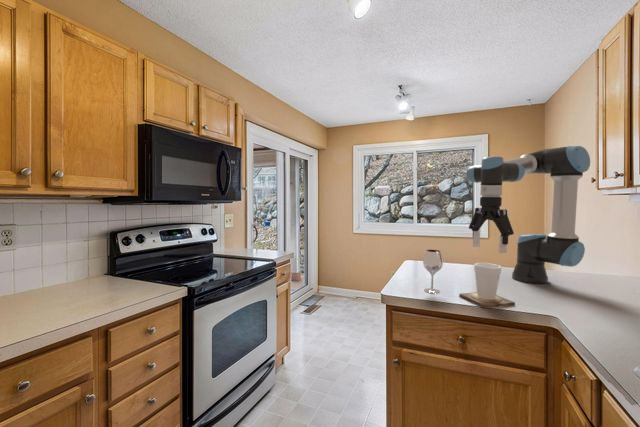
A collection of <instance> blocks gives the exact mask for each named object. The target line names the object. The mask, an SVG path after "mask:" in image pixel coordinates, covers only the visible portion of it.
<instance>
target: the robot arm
mask: <svg viewBox="0 0 640 427" xmlns="http://www.w3.org/2000/svg"><path fill="white" fill-rule="evenodd" d="M590 166H591V156H590V153H589V152H588V151H587V149H586V148H585V147H584V146H581V145H569V146H562V147H555V148H554V147H553V148H545V149H542V150H541V149H540V150H538V151H537V150H536V151H534V152H533V151H532V152H529V153H525V154H522V155H521V156H520V157H516V158H512V159H506V160H504V157H502V156H499V155H497V156H494V155H493V156H485V157H483V158H482V159H481V165H480V164H479V165H477V164H476V165H472V166H469V167H468V169H467V170H466V172H465V174H466V179H467V181H468V182H470V183H475V184H477V183H480V198H479V206H481V207H475V208H474V214H473V216H472V218H471V221H470V224H469V226H468V229H470V230H471V231H472V247H473V248H477V247H480V246H481V230H480V229H481V228H482V226H483V225H484V223H485V222H486V221H487V220H489V221H492V222H493V223H494V224H495V226H496V227H497V229H498V231H499V234H500V235H499V240H498V241H499V242H498V243H499V244H498V245H499V247H498V248H499V249H498V253H500V254H507V250H508V248H507V245H508V244H509V236H513V235H514V233H515V232H514V230H513V227H512V225H511V222H510V218H509V216H508V210H507V209H504V208H503V209H500V208H501V206H502V205H503V204H502V202H503V201H502V200H503V198H502V197H501V196H503V183H504V182H506V183H508V182H510V183H515V182H519V181H521V180H522V179H523V178H524V176H525V175H530V174H550V175H549V176H550V178H551V179H552V180H553V195H552V196H553V197H552V210H551V211H552V214H551V216H552V217H551V230H550V232H549V233H548V234H547V235H546V234H545V233H544V234H543V233H542V234H540V233H539V234H534V233H533V234H521V235H519V236H518V239H517V242H516V243H517V251H516V255H517V256H516V265H515V267H514V269H513V271H512V273H511V277H512V279H514V280H515V281H519V282H522V283H529V284H543V285H544V284H547V283H548V282H549V277H548V274H547V270H546V266H545V264H546V263H548V264H549V263H550V264H553V265H559V266H562V267H576V266H577V265H579V264H580V263H581V261H582V260H583V258H584V257H585V256H584V255H585V252H586V248H585V245H584V243H583V242H581V241H580V239H579V238H580V237H579V236H578V235H577V234H576V222H577V221H576V219H577V205H578V204H577V201H578V186H579V180H580V179H582V178H583V174H584V173H585V172H587V171H589V169H590Z"/></svg>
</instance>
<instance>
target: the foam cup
mask: <svg viewBox="0 0 640 427" xmlns="http://www.w3.org/2000/svg"><path fill="white" fill-rule="evenodd" d="M473 268H474V269H473V270H474V275H475V276H474V277H475V284H476V285H475V286H476V287H475V288H476V292H477V296H478V297H479V298H482V299H487V300H494V299H495V297H496V295H497V290H498V285H499V281H500V275H501V273H502V265H499V264H495V263H491V262H490V263H489V262H476V263H475V262H474V267H473Z"/></svg>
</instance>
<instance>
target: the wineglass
mask: <svg viewBox="0 0 640 427" xmlns="http://www.w3.org/2000/svg"><path fill="white" fill-rule="evenodd" d="M442 256H443V255H442V253H441V250H438V249H426V250H425V254H424V257H423V261H422V265H423V267H424V268H425V270H426V271H427V272H429V274H430V275H431V278H430V280H431V282H430V285H431V286H430V288H425V289H424V292H425V293H429V294H439V293H441V292H440V290H439V289H436V288H434V275H435V274H437V272H439V271H440V270H441V269H442V268H443V265H444V264H443V263H444V262H443V258H442Z"/></svg>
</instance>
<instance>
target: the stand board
mask: <svg viewBox="0 0 640 427" xmlns="http://www.w3.org/2000/svg"><path fill="white" fill-rule="evenodd" d="M459 297H460V298H461V297H462V299H464V300H466V301H468V302H470V303H472V302H473V303H472V304H474V303H475V305H476V304H477V306H479V307H481V308H482V309H493V308H492V307H494V308H500V307H499V306H504V307H511V306H510V305H514V306H515V305H516V302H515V301H513V300H511V299H510V300H509V299H507V298H505V297H502V296H500V295H497V294H496V297H495V299H494V300H487V299H482V298H479V297H478V296H477V291H475V292H465V293H462V292H461V293H459Z"/></svg>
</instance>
